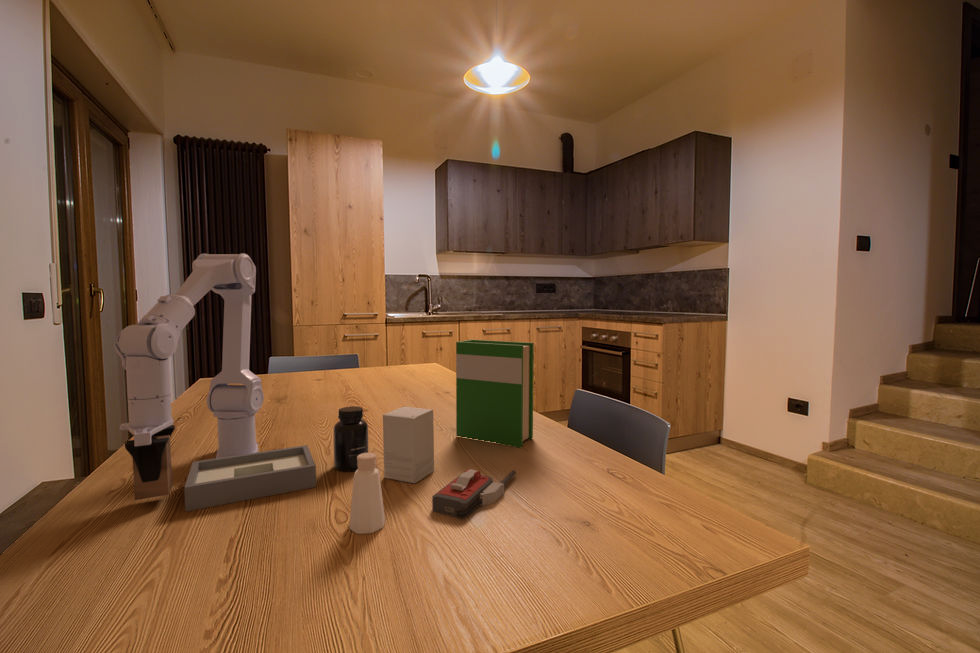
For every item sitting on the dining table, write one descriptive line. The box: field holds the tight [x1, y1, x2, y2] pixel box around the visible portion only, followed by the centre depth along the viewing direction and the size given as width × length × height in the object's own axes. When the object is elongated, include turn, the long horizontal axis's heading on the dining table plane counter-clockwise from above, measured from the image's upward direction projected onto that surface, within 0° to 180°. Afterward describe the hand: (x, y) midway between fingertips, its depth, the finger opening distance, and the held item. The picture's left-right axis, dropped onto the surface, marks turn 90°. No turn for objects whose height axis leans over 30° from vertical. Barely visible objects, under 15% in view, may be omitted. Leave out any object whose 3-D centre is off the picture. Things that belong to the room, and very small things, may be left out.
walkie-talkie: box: [431, 468, 517, 519], centre depth 79 cm, size 9×4×20 cm
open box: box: [184, 444, 317, 512], centre depth 82 cm, size 13×20×4 cm, turn 119°
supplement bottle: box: [333, 405, 369, 472], centre depth 91 cm, size 7×7×12 cm
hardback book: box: [455, 339, 535, 448], centre depth 110 cm, size 18×7×24 cm, turn 63°
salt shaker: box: [348, 452, 386, 535], centre depth 68 cm, size 5×5×11 cm
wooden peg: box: [132, 435, 173, 501], centre depth 75 cm, size 4×4×9 cm
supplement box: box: [382, 406, 435, 484], centre depth 87 cm, size 7×7×13 cm
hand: (153, 475), depth 75 cm, fingers closed on wooden peg, 4 cm apart
